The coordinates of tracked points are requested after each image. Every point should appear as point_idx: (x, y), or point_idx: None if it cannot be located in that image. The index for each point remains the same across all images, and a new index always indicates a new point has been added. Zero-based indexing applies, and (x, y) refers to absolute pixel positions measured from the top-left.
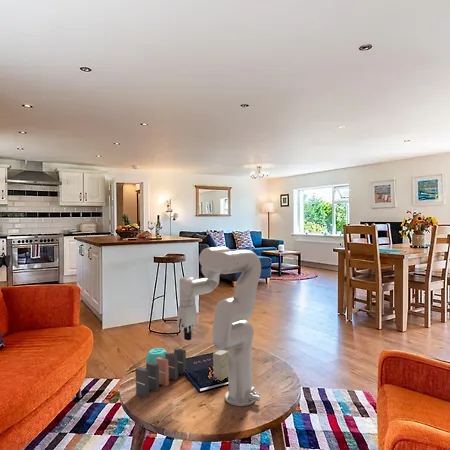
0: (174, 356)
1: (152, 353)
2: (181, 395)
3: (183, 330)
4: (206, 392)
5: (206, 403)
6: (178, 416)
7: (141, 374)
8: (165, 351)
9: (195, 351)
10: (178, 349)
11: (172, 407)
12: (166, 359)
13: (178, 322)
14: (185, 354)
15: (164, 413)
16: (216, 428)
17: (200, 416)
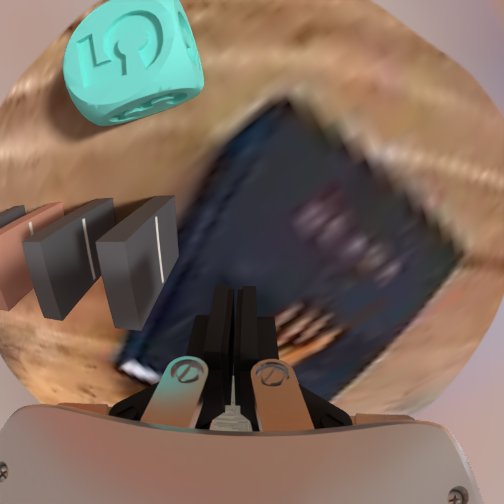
0: (45, 315)
1: (68, 63)
2: (66, 334)
3: (142, 398)
4: (129, 383)
5: (97, 397)
6: (30, 366)
7: None
8: (150, 91)
9: (430, 135)
10: (114, 276)
11: (30, 341)
12: (2, 303)
13: (3, 479)
14: (147, 312)
15: (11, 336)
16: None
17: (64, 399)
